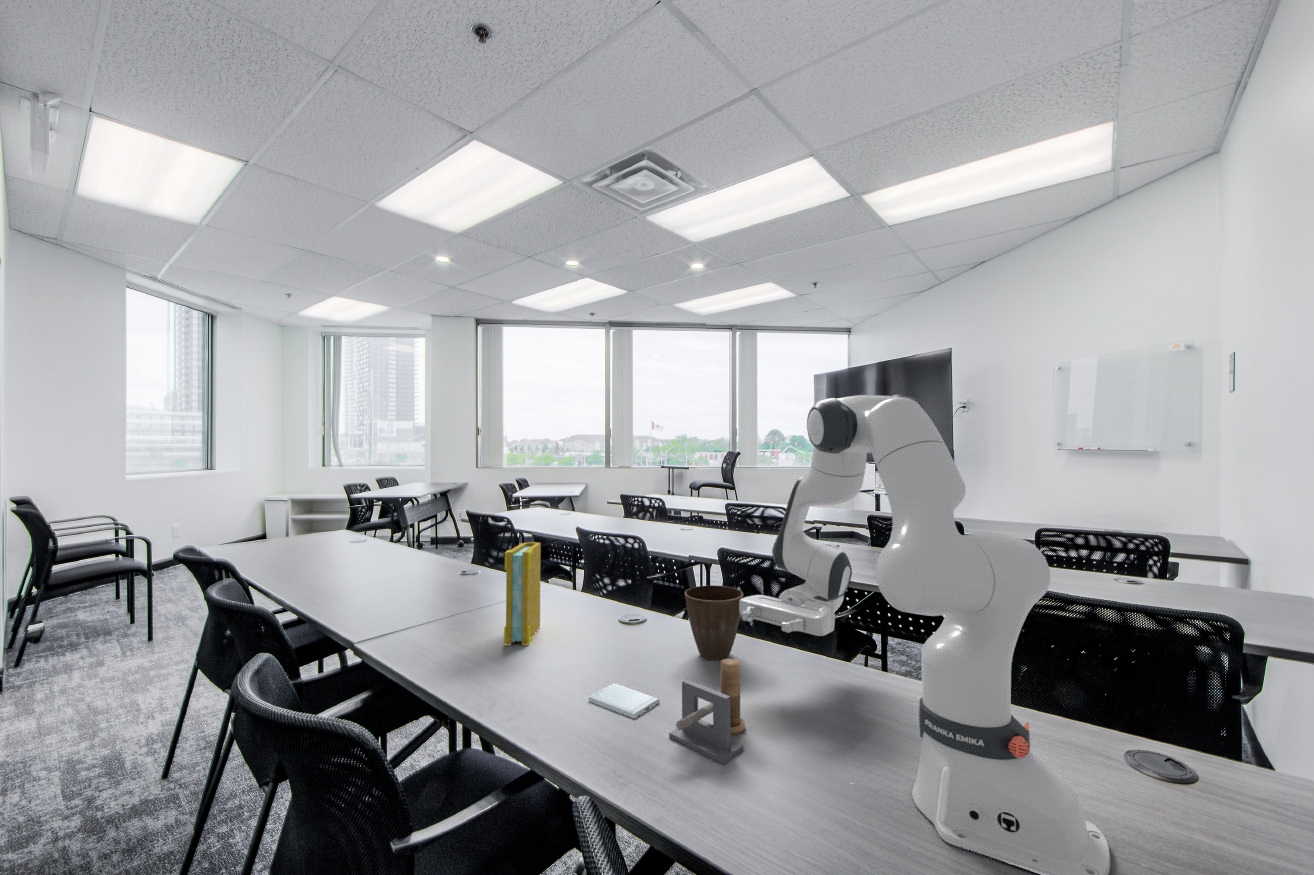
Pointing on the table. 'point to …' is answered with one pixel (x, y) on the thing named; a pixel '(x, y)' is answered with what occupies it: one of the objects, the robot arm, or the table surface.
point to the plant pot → (714, 619)
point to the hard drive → (624, 700)
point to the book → (522, 592)
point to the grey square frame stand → (707, 724)
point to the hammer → (728, 687)
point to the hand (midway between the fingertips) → (764, 622)
